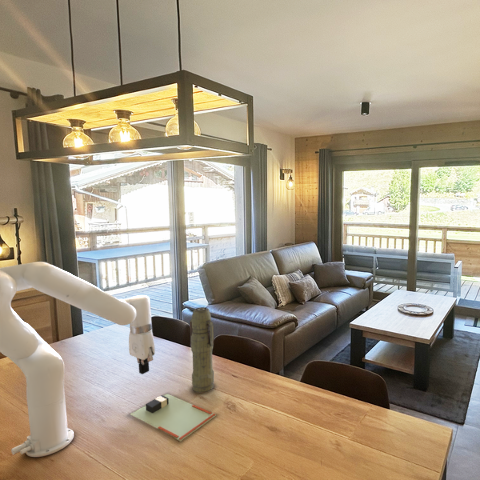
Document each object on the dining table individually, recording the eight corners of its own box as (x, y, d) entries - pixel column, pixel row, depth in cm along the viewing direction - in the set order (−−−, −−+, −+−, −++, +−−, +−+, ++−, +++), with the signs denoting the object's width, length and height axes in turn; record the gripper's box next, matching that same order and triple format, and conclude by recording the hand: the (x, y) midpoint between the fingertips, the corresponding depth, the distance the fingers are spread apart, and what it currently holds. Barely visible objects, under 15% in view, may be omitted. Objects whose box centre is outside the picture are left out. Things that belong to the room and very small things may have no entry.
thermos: (198, 380, 154) (196, 304, 150) (221, 385, 150) (219, 307, 146) (184, 390, 146) (181, 310, 141) (208, 396, 142) (206, 314, 137)
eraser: (152, 413, 129) (152, 407, 129) (145, 410, 131) (145, 403, 131) (168, 404, 135) (168, 397, 135) (162, 401, 137) (161, 394, 137)
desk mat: (180, 441, 115) (180, 439, 115) (129, 415, 129) (129, 413, 129) (216, 415, 129) (216, 414, 129) (167, 394, 143) (167, 392, 143)
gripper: (120, 327, 134) (123, 371, 136) (144, 335, 127) (147, 381, 129) (138, 321, 140) (141, 363, 143) (162, 328, 133) (165, 372, 136)
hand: (144, 372), depth 136 cm, fingers closed
